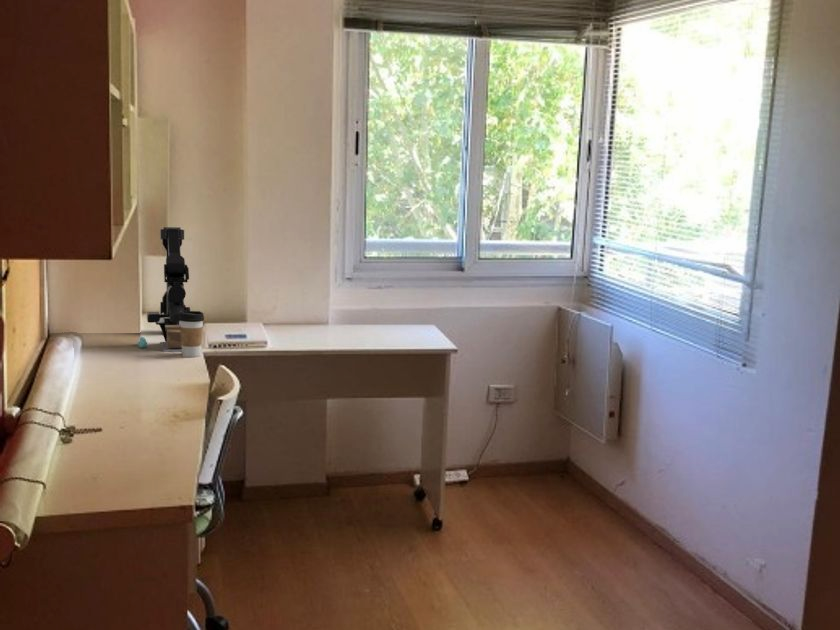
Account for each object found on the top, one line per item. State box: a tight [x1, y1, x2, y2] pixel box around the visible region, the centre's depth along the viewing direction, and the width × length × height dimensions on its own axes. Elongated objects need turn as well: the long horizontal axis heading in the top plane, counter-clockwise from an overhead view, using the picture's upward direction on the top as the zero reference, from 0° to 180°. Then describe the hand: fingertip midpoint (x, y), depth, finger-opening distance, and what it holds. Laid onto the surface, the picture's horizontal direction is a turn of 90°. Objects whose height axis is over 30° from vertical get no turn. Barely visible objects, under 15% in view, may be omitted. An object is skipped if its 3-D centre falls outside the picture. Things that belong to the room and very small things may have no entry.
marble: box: [137, 339, 148, 349], centre depth 313 cm, size 3×3×3 cm
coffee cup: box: [178, 310, 205, 358], centre depth 305 cm, size 8×8×15 cm
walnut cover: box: [164, 325, 182, 348], centre depth 316 cm, size 12×6×6 cm, turn 21°
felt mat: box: [159, 341, 182, 353], centre depth 317 cm, size 14×9×1 cm, turn 20°
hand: (175, 340), depth 317 cm, fingers closed on walnut cover, 6 cm apart
